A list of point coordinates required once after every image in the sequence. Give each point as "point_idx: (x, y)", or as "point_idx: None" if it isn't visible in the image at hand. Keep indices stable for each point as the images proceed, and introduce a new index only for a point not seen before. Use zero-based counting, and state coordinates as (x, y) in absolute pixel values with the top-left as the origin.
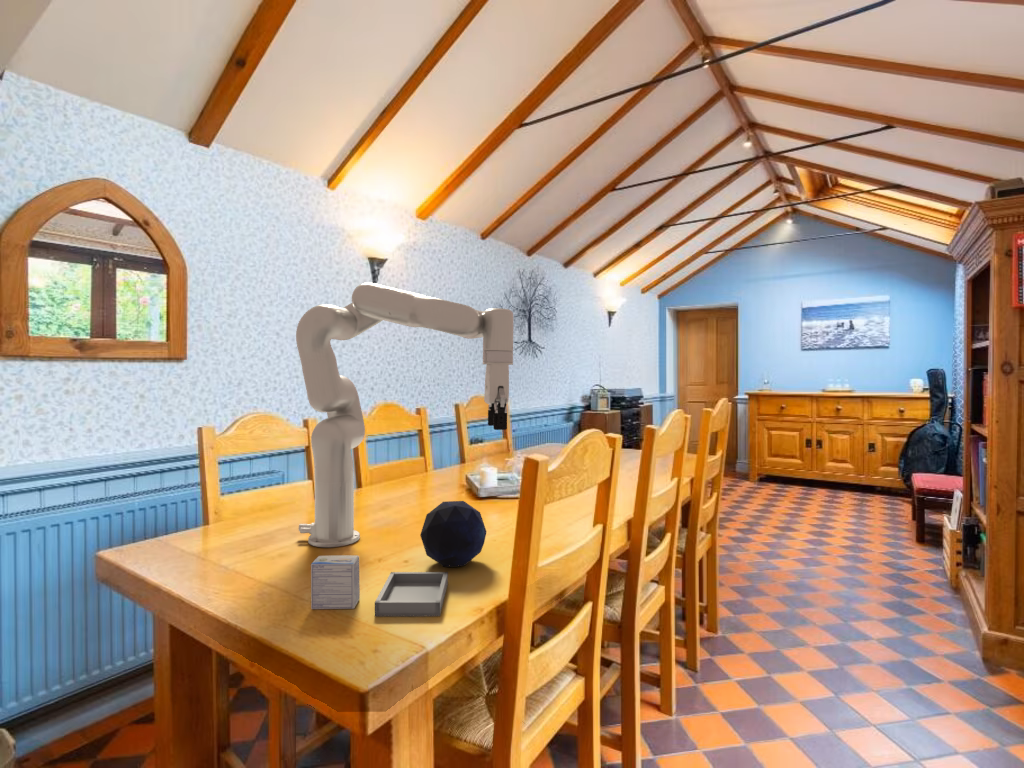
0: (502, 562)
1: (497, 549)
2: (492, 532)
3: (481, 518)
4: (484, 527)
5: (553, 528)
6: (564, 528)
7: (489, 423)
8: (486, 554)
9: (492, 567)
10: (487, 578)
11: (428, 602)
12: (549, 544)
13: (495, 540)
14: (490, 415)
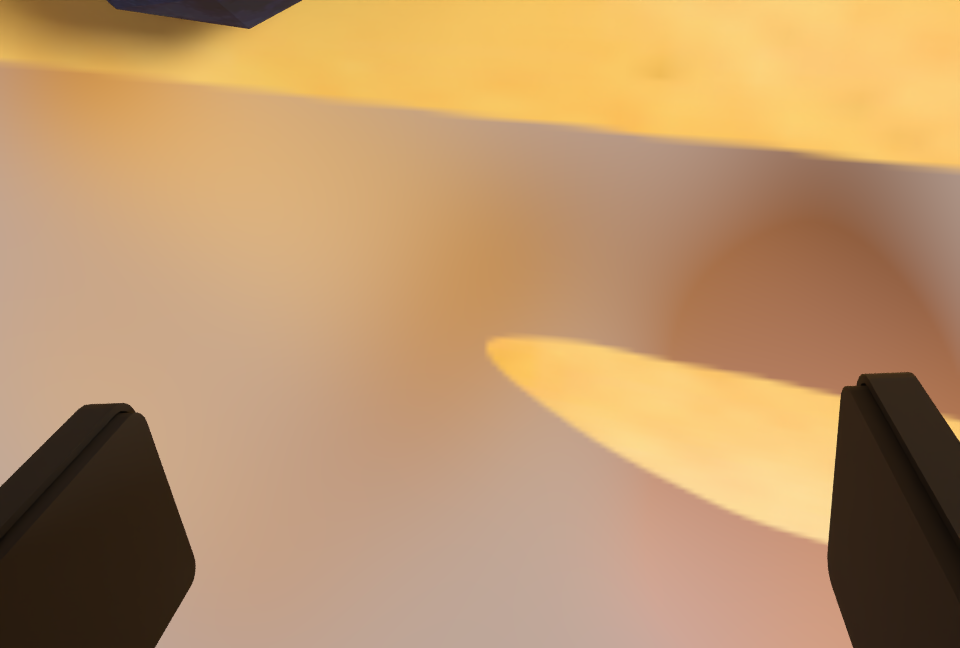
0: (305, 90)
1: (497, 77)
2: (820, 65)
3: (175, 4)
4: (192, 18)
5: (821, 405)
6: (808, 453)
7: (850, 411)
8: (419, 12)
9: (236, 36)
10: (100, 6)
11: None
12: (557, 340)
13: (655, 75)
14: (911, 555)
